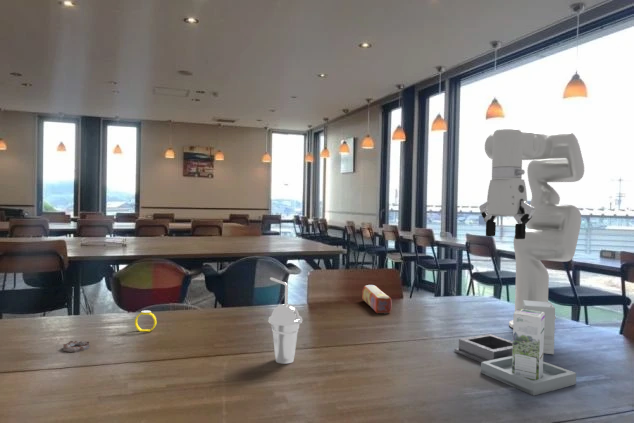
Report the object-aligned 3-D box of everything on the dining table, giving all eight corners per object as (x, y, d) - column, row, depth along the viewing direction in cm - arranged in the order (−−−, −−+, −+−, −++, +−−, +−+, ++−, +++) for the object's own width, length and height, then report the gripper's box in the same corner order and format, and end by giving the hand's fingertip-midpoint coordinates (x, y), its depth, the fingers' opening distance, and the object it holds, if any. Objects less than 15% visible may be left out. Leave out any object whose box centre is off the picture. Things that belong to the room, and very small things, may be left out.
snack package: (392, 314, 163) (393, 295, 163) (374, 314, 162) (374, 295, 162) (377, 301, 184) (378, 284, 184) (361, 301, 183) (361, 284, 183)
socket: (489, 345, 129) (489, 332, 128) (529, 359, 117) (530, 346, 117) (454, 351, 122) (454, 338, 122) (493, 367, 111) (494, 353, 111)
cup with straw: (275, 368, 108) (276, 283, 107) (261, 356, 116) (262, 277, 115) (307, 363, 112) (309, 281, 111) (292, 352, 120) (293, 275, 119)
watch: (156, 330, 138) (158, 311, 138) (153, 333, 135) (155, 313, 135) (136, 329, 138) (138, 309, 137) (133, 331, 135) (134, 311, 135)
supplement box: (550, 346, 128) (551, 301, 128) (554, 355, 121) (555, 307, 121) (521, 343, 131) (522, 299, 130) (523, 351, 124) (525, 304, 123)
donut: (91, 354, 117) (91, 346, 117) (56, 358, 114) (56, 350, 114) (93, 344, 125) (93, 336, 125) (60, 347, 122) (60, 340, 122)
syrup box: (543, 374, 105) (545, 311, 105) (538, 382, 100) (540, 316, 100) (516, 368, 108) (518, 307, 108) (511, 376, 103) (512, 312, 103)
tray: (521, 363, 114) (521, 353, 114) (575, 384, 102) (576, 373, 102) (480, 372, 108) (481, 362, 107) (533, 395, 95) (534, 383, 95)
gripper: (544, 173, 120) (542, 239, 120) (490, 176, 135) (489, 234, 135) (524, 172, 116) (522, 240, 117) (472, 175, 131) (470, 235, 132)
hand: (504, 237), depth 126 cm, fingers open, 9 cm apart
